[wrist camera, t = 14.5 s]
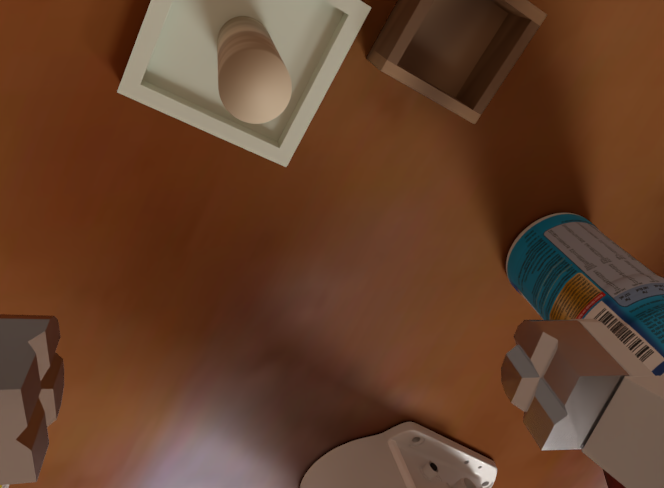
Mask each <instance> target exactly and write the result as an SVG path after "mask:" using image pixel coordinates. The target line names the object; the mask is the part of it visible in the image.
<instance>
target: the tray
mask: <svg viewBox="0 0 664 488" xmlns="http://www.w3.org/2000/svg"><path fill="white" fill-rule="evenodd" d="M371 8H372V7H370V6H369V5H367V4H365V3H364V2H362V1H361V0H151V2H150V4H149V7H148V10H147V12H146V15H145V18H144V20H143V23H142V26H141V28H140V31H139V34H138V37H137V39H136V42H135V45H134V47H133V50H132V53H131V55H130V58H129V61H128V64H127V66H126V69H125V72H124V74H123V77H122V80H121V82H120V85H119V88H118V90H117V93H120V94H122V95H124V96H126V97H129V98H131V99H133V100H135V101H138V102H140V103H142V104H144V105H147V106H149V107H151V108H153V109H156V110H158V111H160V112H162V113H165V114H167V115H169V116H171V117H174V118H176V119H178V120H180V121H183V122H185V123H187V124H189V125H192V126H194V127H196V128H199V129H201V130H203V131H205V132H208V133H210V134H212V135H214V136H217V137H219V138H221V139H223V140H226V141H228V142H230V143H232V144H235V145H237V146H239V147H241V148H244V149H246V150H248V151H250V152H253V153H255V154H257V155H259V156H262V157H264V158H266V159H268V160H271V161H273V162H275V163H277V164H280V165H282V166H284V167H287V165H288V163H289V162H290V160H291V158H292V156H293V154H294V152H295V150H296V148H297V147H298V145H299V143H300V141H301V139H302V137H303V135H304V133H305V132H306V130H307V128H308V126H309V124H310V122H311V120H312V118H313V117H314V115H315V113H316V111H317V109H318V107H319V105H320V103H321V102H322V100H323V98H324V96H325V94H326V92H327V90H328V88H329V87H330V85H331V83H332V81H333V79H334V77H335V75H336V73H337V72H338V70H339V68H340V66H341V64H342V62H343V60H344V58H345V57H346V55H347V53H348V51H349V49H350V47H351V45H352V43H353V41H354V40H355V38H356V36H357V34H358V32H359V30H360V28H361V26H362V25H363V23H364V21H365V19H366V17H367V15H368V13H369V11H370V10H371ZM238 16H247V17H251V18H254V19H256V20H257V21H259V22H260V23H261V24H262V25H263V26H264V27H265V28H266V30H267V31H268V33H269V35H270V37H271V39H272V41H273V43H274V45H275V47H276V49H277V51H278V53H279V55H280V57H281V59H282V60H283V62H284V64H285V66H286V68H287V70H288V72H289V75H290V78H291V83H292V93H291V97H290V101H289V103H288V105H287V107H286V108H285V110H284V111H283V112H282V113H281V114H280V115H279V116H278V117H276V118H275V119H273V120H271V121H268V122H265V123H260V124H252V123H247V122H244V121H241V120H239V119H237V118H235V117H234V116H233V115H232V114H230V113H229V112H228V110H227V109H226V108H225V106H224V105H223V103H222V101H221V98H220V95H219V90H218V58H217V38H218V34H219V31H220V29H221V28H222V26H223V25H224V24H225V23H226V22H227V21H228V20H230V19H232V18H234V17H238Z"/></svg>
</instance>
